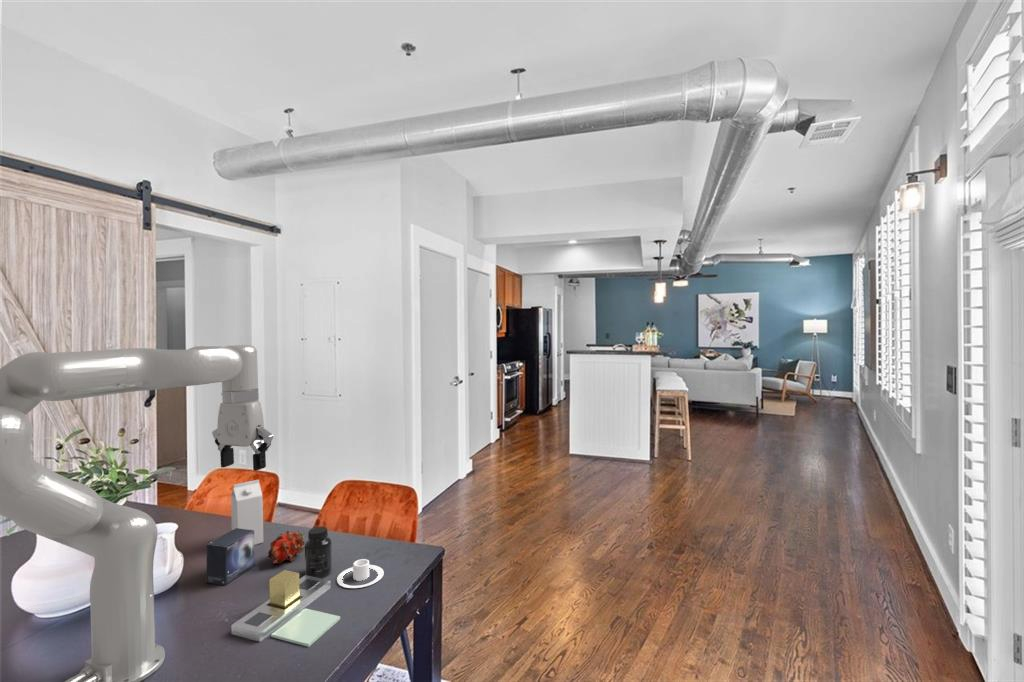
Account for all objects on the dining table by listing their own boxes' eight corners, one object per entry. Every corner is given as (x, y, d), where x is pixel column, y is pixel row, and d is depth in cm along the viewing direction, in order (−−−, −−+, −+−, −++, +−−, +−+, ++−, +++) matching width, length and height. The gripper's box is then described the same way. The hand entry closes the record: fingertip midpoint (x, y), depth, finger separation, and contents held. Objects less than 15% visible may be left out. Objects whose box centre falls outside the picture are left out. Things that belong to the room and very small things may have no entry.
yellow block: (285, 616, 110) (284, 582, 110) (270, 612, 111) (269, 579, 111) (299, 605, 114) (299, 573, 114) (284, 602, 116) (284, 570, 115)
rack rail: (260, 641, 101) (259, 632, 101) (231, 634, 104) (231, 624, 103) (330, 587, 122) (330, 579, 122) (305, 582, 124) (305, 574, 124)
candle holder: (336, 594, 120) (336, 577, 119) (337, 571, 131) (337, 555, 131) (385, 586, 123) (385, 569, 123) (382, 564, 135) (382, 549, 135)
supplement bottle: (305, 569, 131) (304, 526, 131) (331, 565, 134) (331, 522, 133) (304, 582, 125) (304, 537, 124) (332, 577, 127) (331, 532, 127)
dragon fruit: (306, 555, 143) (273, 580, 132) (287, 536, 144) (253, 559, 133) (316, 537, 140) (283, 561, 129) (297, 517, 141) (262, 540, 130)
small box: (226, 586, 123) (225, 546, 122) (205, 583, 124) (204, 544, 124) (256, 566, 133) (255, 529, 133) (236, 563, 134) (235, 527, 134)
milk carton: (231, 542, 148) (230, 481, 147) (256, 535, 153) (255, 476, 152) (237, 550, 143) (236, 487, 142) (263, 542, 147) (262, 482, 147)
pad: (308, 646, 99) (308, 644, 99) (271, 637, 103) (271, 634, 103) (340, 619, 109) (340, 616, 109) (305, 610, 112) (305, 608, 112)
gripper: (198, 398, 112) (201, 469, 113) (257, 401, 107) (259, 475, 108) (225, 393, 119) (228, 460, 120) (282, 395, 114) (284, 465, 115)
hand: (243, 467), depth 114 cm, fingers open, 9 cm apart
